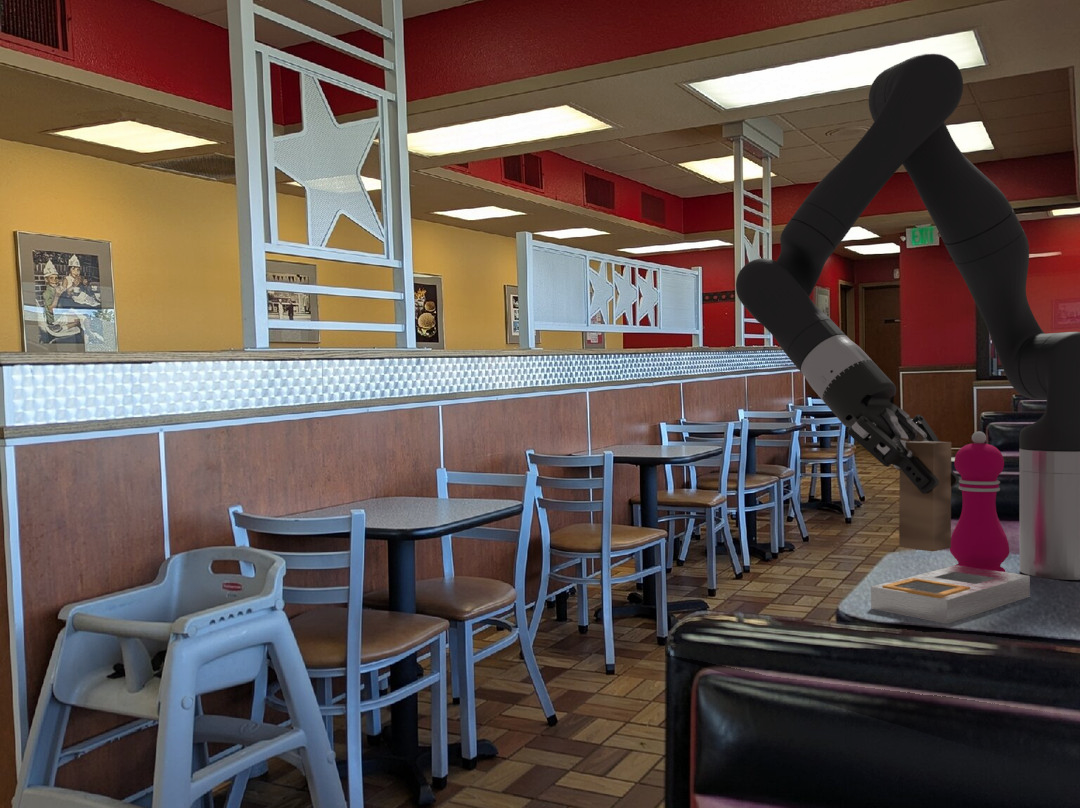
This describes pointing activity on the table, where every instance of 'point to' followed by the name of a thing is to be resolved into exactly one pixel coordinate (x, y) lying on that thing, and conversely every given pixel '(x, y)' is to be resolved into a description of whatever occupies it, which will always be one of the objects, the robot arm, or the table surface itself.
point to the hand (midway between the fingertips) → (942, 486)
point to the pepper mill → (979, 507)
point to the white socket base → (950, 593)
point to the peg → (927, 501)
